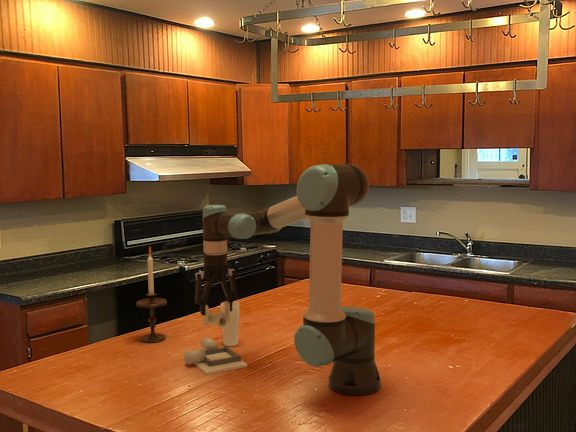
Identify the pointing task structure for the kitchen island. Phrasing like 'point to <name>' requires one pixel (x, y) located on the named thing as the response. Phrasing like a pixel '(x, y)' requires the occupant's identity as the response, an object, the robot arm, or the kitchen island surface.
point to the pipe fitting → (217, 318)
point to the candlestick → (151, 306)
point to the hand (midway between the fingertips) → (216, 322)
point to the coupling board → (214, 358)
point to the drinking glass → (231, 325)
